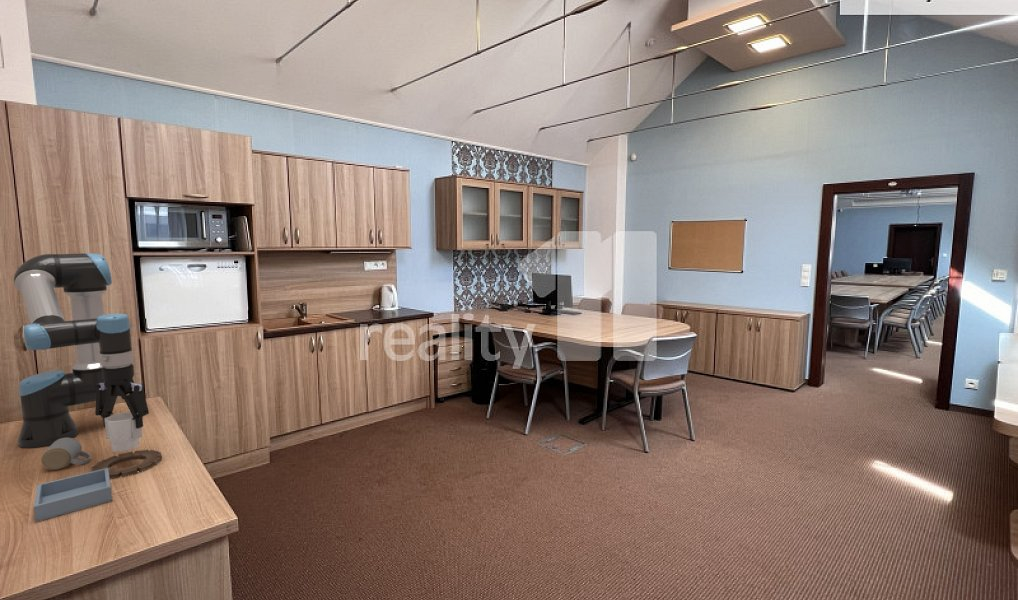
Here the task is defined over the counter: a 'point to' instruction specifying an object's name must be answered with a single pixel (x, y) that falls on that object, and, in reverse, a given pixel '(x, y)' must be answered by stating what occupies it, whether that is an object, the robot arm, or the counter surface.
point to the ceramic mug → (64, 454)
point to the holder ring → (149, 455)
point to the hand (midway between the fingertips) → (124, 437)
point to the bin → (72, 494)
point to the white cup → (121, 432)
